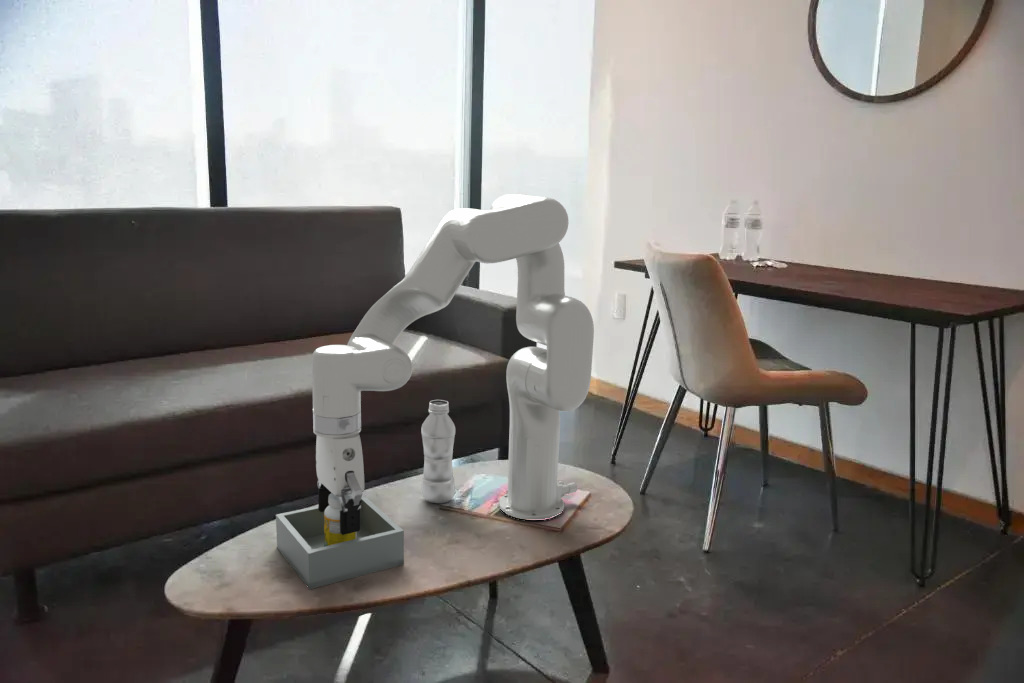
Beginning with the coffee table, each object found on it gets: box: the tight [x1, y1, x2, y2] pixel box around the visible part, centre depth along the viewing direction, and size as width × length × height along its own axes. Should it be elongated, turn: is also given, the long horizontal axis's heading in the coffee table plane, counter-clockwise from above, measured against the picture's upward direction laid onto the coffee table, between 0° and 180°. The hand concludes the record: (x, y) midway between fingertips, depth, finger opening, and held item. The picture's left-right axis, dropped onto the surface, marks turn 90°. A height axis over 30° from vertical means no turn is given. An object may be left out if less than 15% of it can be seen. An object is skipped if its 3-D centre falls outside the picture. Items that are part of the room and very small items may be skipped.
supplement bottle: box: [324, 490, 357, 547], centre depth 134 cm, size 5×5×10 cm
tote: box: [275, 495, 405, 590], centre depth 135 cm, size 16×16×6 cm
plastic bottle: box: [420, 399, 456, 504], centre depth 157 cm, size 6×7×20 cm
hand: (338, 520), depth 134 cm, fingers open, 9 cm apart
